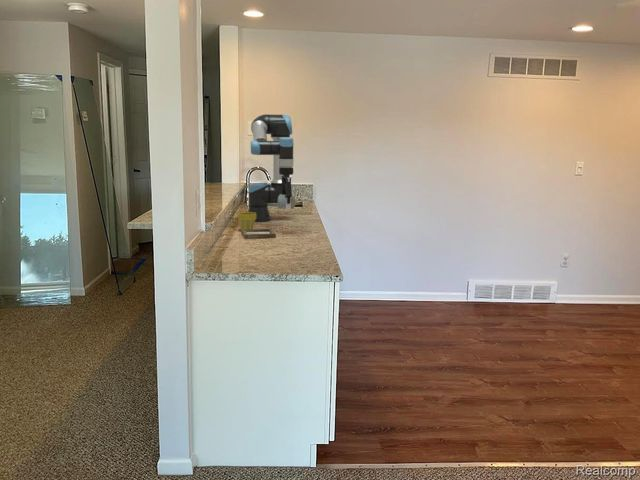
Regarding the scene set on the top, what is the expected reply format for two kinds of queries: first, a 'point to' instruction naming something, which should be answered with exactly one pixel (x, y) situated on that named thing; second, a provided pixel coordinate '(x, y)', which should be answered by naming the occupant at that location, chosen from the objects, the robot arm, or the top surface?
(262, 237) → the coaster tray
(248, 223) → the plant pot
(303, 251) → the top surface
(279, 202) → the ceramic mug
